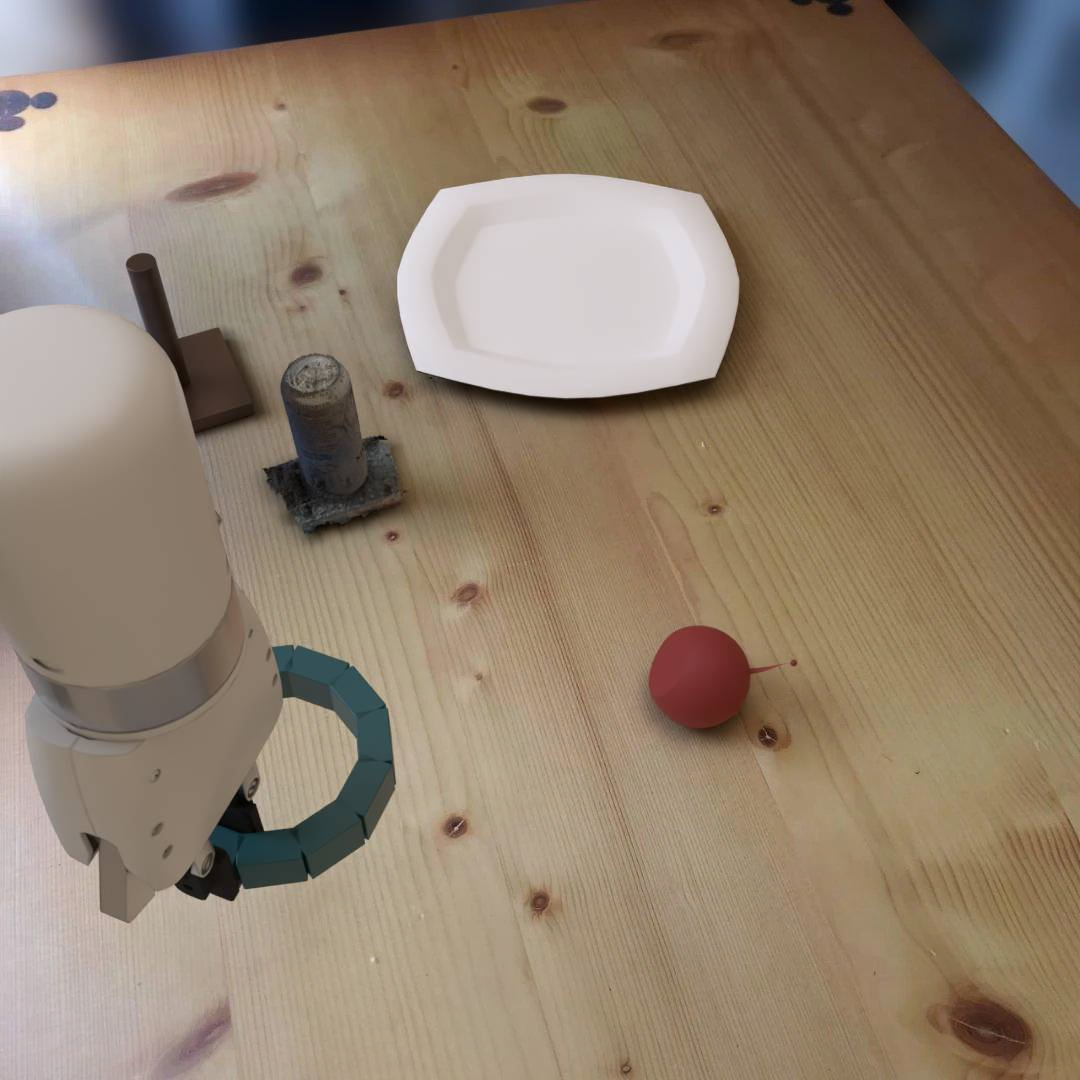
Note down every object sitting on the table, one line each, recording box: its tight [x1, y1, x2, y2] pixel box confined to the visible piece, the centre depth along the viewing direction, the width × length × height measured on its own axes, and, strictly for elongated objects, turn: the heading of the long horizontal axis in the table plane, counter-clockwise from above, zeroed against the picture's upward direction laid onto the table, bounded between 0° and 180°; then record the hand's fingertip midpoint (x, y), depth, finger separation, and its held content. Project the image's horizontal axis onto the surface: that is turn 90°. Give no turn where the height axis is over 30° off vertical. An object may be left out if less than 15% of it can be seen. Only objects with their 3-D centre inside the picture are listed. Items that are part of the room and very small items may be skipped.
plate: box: [396, 173, 740, 400], centre depth 103 cm, size 27×27×2 cm
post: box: [125, 252, 256, 433], centre depth 92 cm, size 9×9×12 cm
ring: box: [209, 644, 397, 890], centre depth 62 cm, size 12×12×2 cm
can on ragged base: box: [262, 352, 403, 535], centre depth 86 cm, size 9×8×12 cm
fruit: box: [648, 624, 798, 729], centre depth 78 cm, size 6×6×8 cm
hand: (221, 860), depth 60 cm, fingers closed on ring, 1 cm apart
